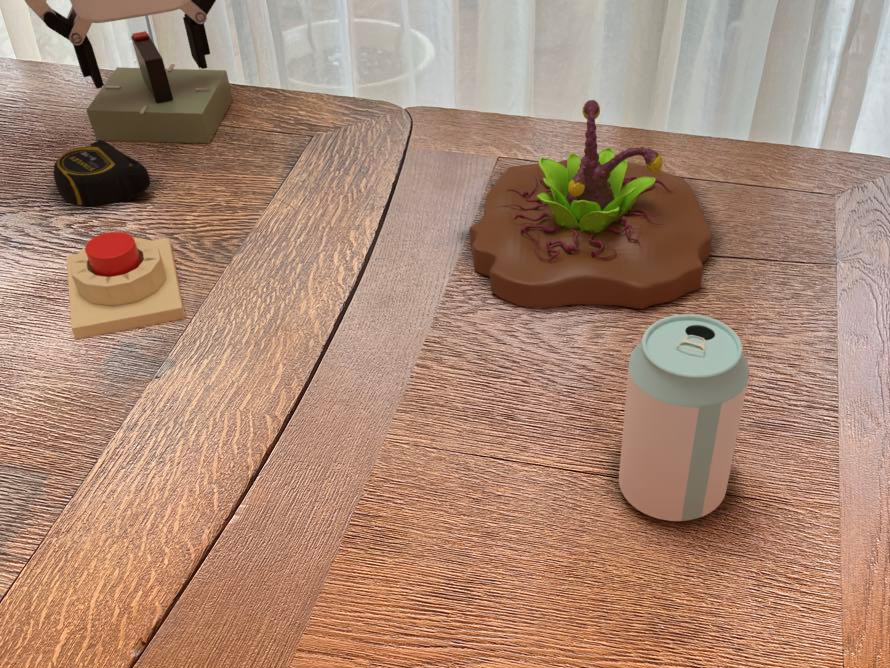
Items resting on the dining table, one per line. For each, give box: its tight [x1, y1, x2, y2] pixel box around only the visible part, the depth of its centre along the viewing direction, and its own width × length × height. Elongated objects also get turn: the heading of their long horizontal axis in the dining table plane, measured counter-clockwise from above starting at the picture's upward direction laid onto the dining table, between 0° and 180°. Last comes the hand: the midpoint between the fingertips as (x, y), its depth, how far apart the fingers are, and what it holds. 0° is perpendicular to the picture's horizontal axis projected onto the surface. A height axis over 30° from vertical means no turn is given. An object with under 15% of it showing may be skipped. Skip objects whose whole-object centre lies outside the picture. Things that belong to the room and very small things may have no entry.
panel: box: [85, 63, 234, 144], centre depth 100 cm, size 11×10×3 cm
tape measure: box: [52, 140, 151, 208], centre depth 90 cm, size 7×7×4 cm
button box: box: [65, 237, 186, 340], centre depth 80 cm, size 10×8×4 cm
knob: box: [130, 30, 173, 103], centre depth 97 cm, size 6×2×4 cm, turn 27°
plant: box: [469, 99, 713, 310], centre depth 83 cm, size 20×20×11 cm
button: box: [84, 231, 141, 277], centre depth 78 cm, size 4×4×2 cm
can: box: [618, 313, 750, 522], centre depth 64 cm, size 7×7×12 cm
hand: (149, 72), depth 98 cm, fingers open, 9 cm apart
